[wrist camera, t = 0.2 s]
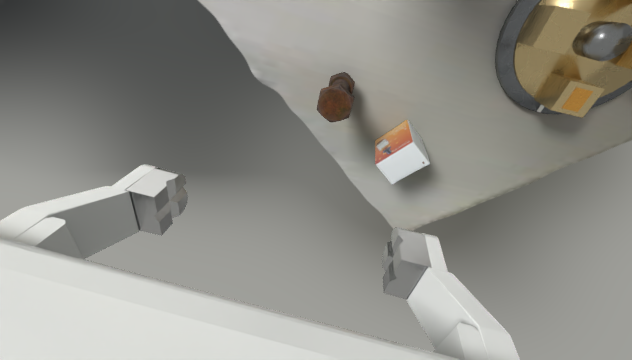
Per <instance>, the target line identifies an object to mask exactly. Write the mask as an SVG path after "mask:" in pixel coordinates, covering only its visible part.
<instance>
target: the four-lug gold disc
mask: <svg viewBox="0 0 632 360" xmlns="http://www.w3.org/2000/svg"><path fill="white" fill-rule="evenodd" d="M513 66H514V72H515V76H516V78H517V80H518V82H519V84H520V85H521V87H522V88H523V89H524V90H525V91H526V92H527V93H528V94H530V95H531V96H533V97H534V100H535V101H537V102H538V103H540V104H541V105H543V106H545V107H546V108H548V109H550V110H552V111H556V112H560V113H565V114H569V115H573V116H577V117H581V118H583V117H584V116H585V114H586V113H587V112H588V111H589V109H590V108H591V107H592V105H593V104H594V103H595V102H596V100H597V99H598V98H600V97H602V96H605V95H607V94H609V93H611V92H613V91H615V90H617V89H618V88H620V87H622V86H624V85H625V84H627V83H628V82H630V81H631V80H632V0H540V1H539V2H538V3H537V4H536V6H535V7H534V8H533V10H532V11H531V12H530V14H529V15H528V17H527V19H526V20H525V22H524V24H523V26H522V28H521V30H520V32H519V34H518V37H517V40H516V43H515V48H514V55H513Z"/></svg>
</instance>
